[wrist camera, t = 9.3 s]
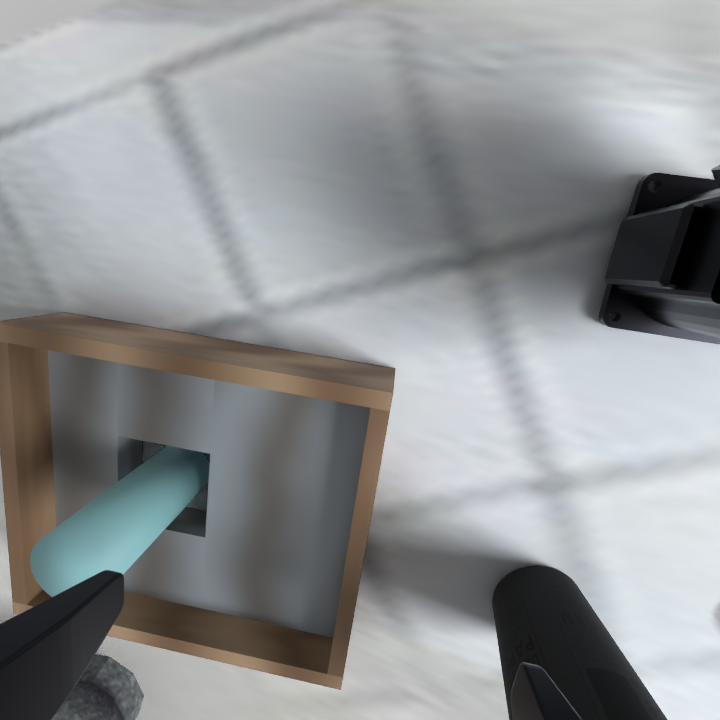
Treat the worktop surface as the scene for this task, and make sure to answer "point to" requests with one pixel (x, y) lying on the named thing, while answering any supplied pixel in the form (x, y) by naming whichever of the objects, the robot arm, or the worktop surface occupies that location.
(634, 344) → the worktop surface
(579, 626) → the drinking cup
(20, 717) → the robot arm
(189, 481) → the peg
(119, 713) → the mortar and pestle
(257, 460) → the insert box
